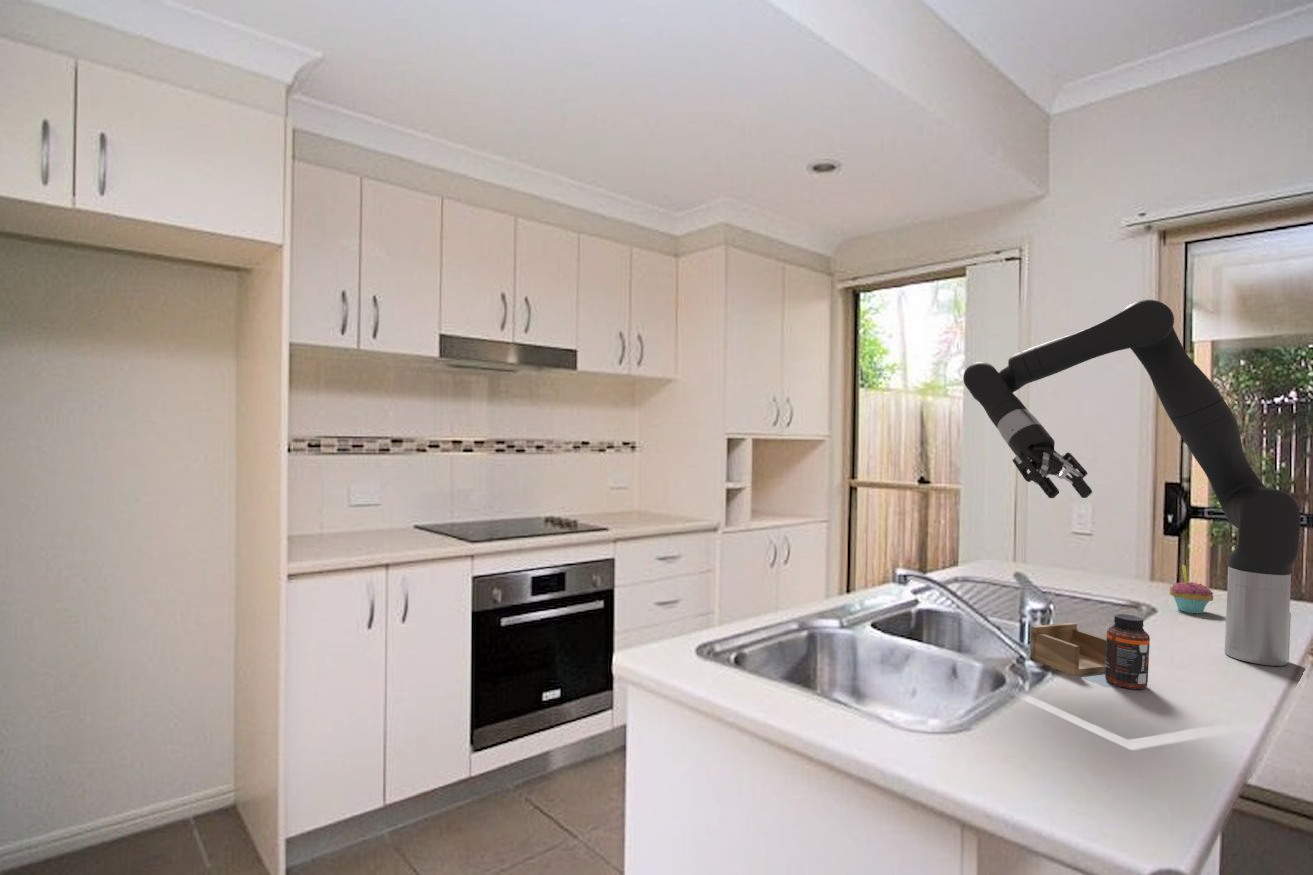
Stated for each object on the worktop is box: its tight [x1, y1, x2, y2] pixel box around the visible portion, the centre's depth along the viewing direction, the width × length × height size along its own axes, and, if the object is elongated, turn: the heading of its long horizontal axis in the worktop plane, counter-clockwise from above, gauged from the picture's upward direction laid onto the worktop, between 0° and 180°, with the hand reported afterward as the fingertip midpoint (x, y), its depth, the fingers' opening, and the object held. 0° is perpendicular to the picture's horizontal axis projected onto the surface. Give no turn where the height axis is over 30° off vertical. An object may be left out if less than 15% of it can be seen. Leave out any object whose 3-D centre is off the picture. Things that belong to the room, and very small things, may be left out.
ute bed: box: [1030, 622, 1107, 677], centre depth 125 cm, size 10×9×7 cm
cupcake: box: [1169, 561, 1214, 615], centre depth 170 cm, size 9×8×12 cm
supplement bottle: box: [1104, 613, 1151, 690], centre depth 115 cm, size 6×6×11 cm
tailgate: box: [1080, 673, 1118, 689], centre depth 115 cm, size 9×1×10 cm
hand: (1071, 495), depth 134 cm, fingers open, 8 cm apart
